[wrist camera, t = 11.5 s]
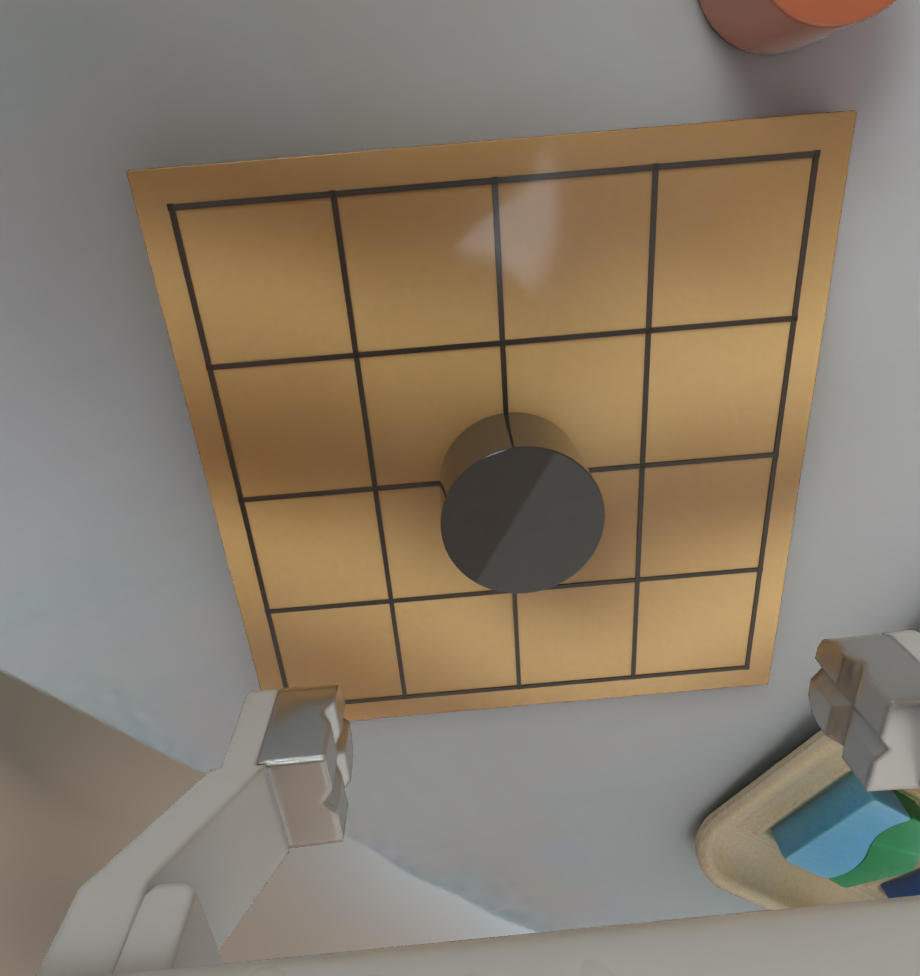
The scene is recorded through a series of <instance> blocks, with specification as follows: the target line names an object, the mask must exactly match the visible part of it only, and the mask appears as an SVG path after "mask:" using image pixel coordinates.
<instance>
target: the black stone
mask: <svg viewBox="0 0 920 976" xmlns="http://www.w3.org/2000/svg"><path fill="white" fill-rule="evenodd" d="M439 487H440V526H441V536H442V541H443V544H444V547H445V550H446V552H447V553H448V555H449V557H450V559H451V560H452V562H453V563H454V565H455V566H456V567H457V568H458V569H459V570H460V571H461V572H462V573H463V574H464V575H465V576H467V577H468V578H469V579H471V580H472V581H474V582H475V583H477V584H479V585H481V586H483V587H486V588H488V589H491V590H494V591H499V592H504V593H513V594H522V593H532V592H538V591H542V590H545V589H548V588H551V587H554V586H556V585H558V584H560V583H562V582H564V581H566V580H567V579H569V578H570V577H572V576H573V575H574V574H576V573H577V572H578V571H579V570H580V569H581V568H582V567H583V566H584V565H585V564H586V563H587V562H588V561H589V559H590V558H591V557H592V555H593V554H594V552H595V550H596V548H597V547H598V545H599V542H600V539H601V537H602V533H603V529H604V523H605V507H604V502H603V497H602V494H601V492H600V489H599V487H598V485H597V483H596V481H595V480H594V478H593V476H592V475H591V473H590V471H589V469H588V468H587V466H586V464H585V462H584V461H583V459H582V457H581V456H580V454H579V452H578V450H577V449H576V447H575V445H574V444H573V442H572V441H571V439H570V438H569V437H568V435H567V434H566V433H565V432H564V431H563V430H562V429H560V428H559V427H558V426H556V425H555V424H554V423H552V422H550V421H548V420H546V419H544V418H542V417H539V416H536V415H532V414H528V413H519V412H512V413H502V414H496V415H493V416H489V417H487V418H484V419H482V420H479V421H478V422H476V423H474V424H472V425H471V426H469V427H468V428H467V429H466V430H464V431H463V432H462V433H461V434H460V435H459V436H458V437H457V438H456V439H455V440H454V442H453V443H452V444H451V446H450V447H449V449H448V451H447V452H446V454H445V457H444V459H443V462H442V466H441V469H440V477H439Z"/></svg>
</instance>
